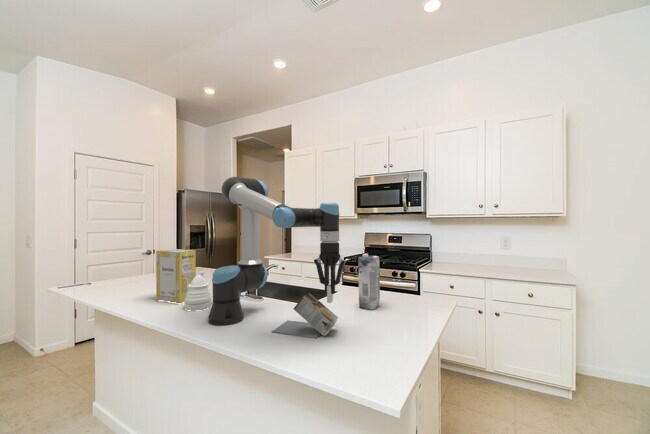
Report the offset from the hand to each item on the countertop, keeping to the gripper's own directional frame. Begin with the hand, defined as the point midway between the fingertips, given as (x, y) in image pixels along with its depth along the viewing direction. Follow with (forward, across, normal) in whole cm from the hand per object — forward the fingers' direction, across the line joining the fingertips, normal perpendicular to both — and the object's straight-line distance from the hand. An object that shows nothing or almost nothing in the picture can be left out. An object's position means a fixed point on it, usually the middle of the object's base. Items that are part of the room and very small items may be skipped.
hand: (329, 301), depth 117 cm
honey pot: (+13, -75, +11) cm, 77 cm away
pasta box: (+13, -97, +18) cm, 100 cm away
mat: (+12, -12, 0) cm, 17 cm away
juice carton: (+12, +8, +39) cm, 42 cm away
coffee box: (+10, +1, 0) cm, 10 cm away
